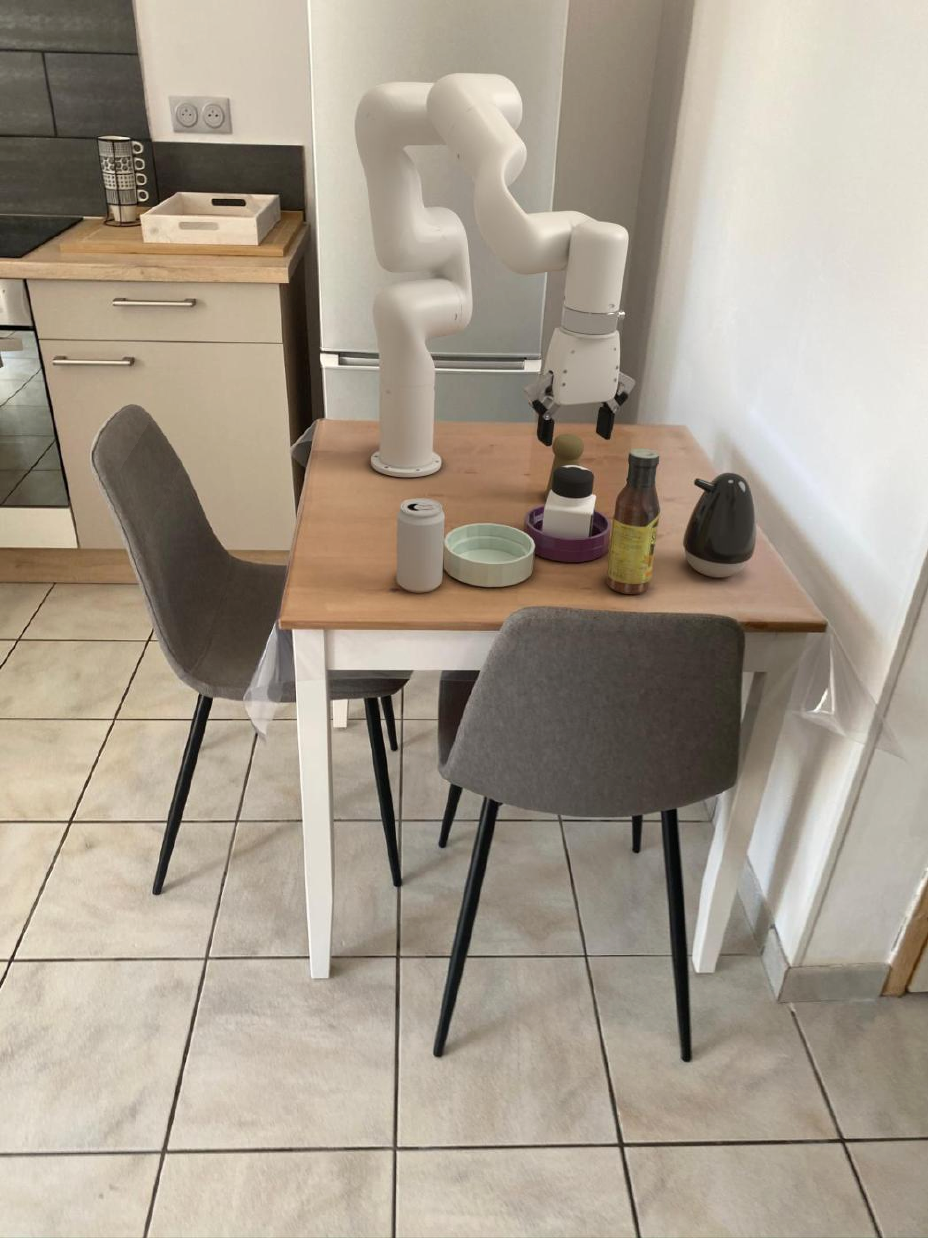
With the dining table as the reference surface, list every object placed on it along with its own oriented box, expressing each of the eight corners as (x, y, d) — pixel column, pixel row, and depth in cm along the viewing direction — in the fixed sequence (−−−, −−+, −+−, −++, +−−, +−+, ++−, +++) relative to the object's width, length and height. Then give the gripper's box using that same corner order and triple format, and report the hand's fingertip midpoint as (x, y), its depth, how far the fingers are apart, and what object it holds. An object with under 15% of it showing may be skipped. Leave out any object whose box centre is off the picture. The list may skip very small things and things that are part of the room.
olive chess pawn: (583, 495, 164) (591, 433, 158) (575, 508, 159) (583, 445, 153) (549, 489, 165) (555, 428, 160) (540, 502, 161) (546, 439, 155)
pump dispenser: (669, 553, 146) (686, 459, 138) (735, 553, 147) (755, 460, 139) (688, 585, 137) (706, 487, 130) (758, 586, 138) (780, 488, 130)
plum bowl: (508, 532, 150) (510, 509, 148) (581, 521, 155) (583, 498, 153) (547, 569, 140) (550, 544, 138) (623, 556, 145) (627, 532, 143)
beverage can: (395, 573, 137) (396, 495, 131) (440, 573, 137) (443, 496, 131) (397, 595, 131) (397, 515, 125) (443, 595, 132) (446, 515, 126)
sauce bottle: (653, 596, 134) (675, 463, 124) (609, 596, 134) (628, 462, 123) (642, 574, 140) (662, 445, 130) (600, 574, 139) (617, 444, 129)
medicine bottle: (587, 556, 143) (596, 481, 137) (540, 550, 144) (547, 476, 138) (591, 536, 149) (600, 463, 143) (546, 530, 150) (552, 458, 144)
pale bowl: (430, 554, 142) (430, 530, 140) (508, 541, 147) (510, 518, 145) (465, 595, 132) (466, 569, 130) (548, 580, 137) (550, 555, 135)
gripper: (628, 310, 136) (611, 425, 145) (520, 316, 130) (509, 436, 139) (658, 324, 130) (638, 443, 139) (545, 331, 124) (532, 455, 133)
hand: (574, 439), depth 139 cm, fingers open, 9 cm apart
